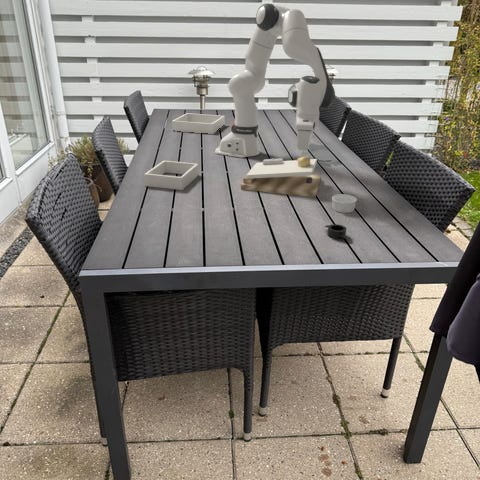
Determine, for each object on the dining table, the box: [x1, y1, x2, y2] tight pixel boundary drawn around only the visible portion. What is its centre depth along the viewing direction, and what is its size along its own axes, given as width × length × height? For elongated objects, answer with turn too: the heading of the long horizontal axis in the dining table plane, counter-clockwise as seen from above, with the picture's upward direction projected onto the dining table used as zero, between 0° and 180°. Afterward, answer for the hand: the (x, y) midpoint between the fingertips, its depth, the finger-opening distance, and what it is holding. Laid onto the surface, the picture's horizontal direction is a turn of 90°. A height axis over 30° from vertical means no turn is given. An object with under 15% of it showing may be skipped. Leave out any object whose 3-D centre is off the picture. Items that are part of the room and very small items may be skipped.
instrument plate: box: [246, 156, 318, 179], centre depth 189 cm, size 26×18×4 cm
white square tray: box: [171, 112, 226, 135], centre depth 282 cm, size 25×25×6 cm
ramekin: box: [331, 193, 358, 214], centre depth 169 cm, size 9×9×4 cm
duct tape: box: [323, 223, 351, 241], centre depth 149 cm, size 8×10×3 cm
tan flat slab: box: [240, 166, 322, 198], centre depth 192 cm, size 30×22×4 cm
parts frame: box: [143, 160, 200, 191], centre depth 193 cm, size 16×20×5 cm
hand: (304, 155), depth 185 cm, fingers closed
